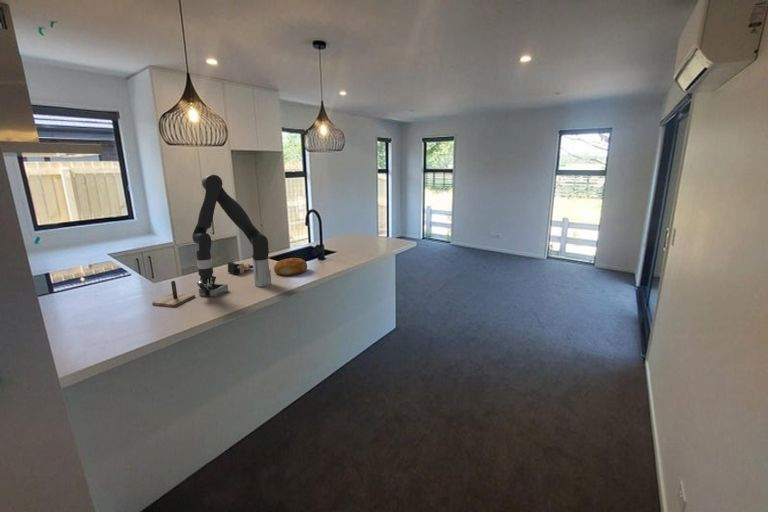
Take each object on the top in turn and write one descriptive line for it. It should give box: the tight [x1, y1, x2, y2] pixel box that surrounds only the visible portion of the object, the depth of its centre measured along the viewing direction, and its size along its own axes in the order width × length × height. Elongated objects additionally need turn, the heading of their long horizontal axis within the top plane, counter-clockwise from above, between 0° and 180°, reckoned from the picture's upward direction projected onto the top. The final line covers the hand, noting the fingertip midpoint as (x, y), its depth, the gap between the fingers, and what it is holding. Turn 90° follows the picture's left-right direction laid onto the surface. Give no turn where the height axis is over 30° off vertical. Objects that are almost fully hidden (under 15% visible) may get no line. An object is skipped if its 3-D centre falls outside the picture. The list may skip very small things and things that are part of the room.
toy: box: [227, 261, 253, 275], centre depth 245 cm, size 12×7×15 cm
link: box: [198, 283, 229, 298], centre depth 204 cm, size 11×11×4 cm
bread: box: [273, 257, 308, 276], centre depth 246 cm, size 23×23×10 cm
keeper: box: [151, 280, 196, 308], centre depth 190 cm, size 14×15×12 cm
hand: (208, 294), depth 200 cm, fingers closed on link, 1 cm apart
